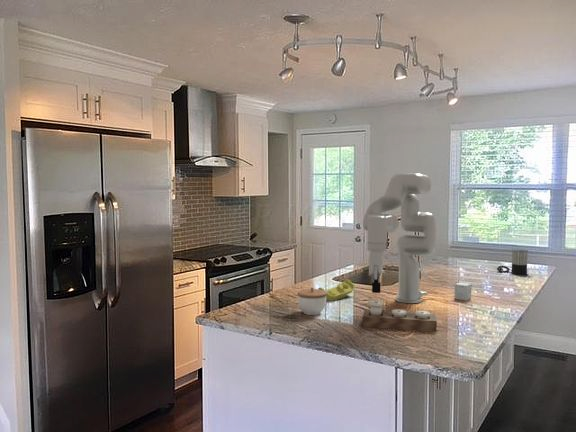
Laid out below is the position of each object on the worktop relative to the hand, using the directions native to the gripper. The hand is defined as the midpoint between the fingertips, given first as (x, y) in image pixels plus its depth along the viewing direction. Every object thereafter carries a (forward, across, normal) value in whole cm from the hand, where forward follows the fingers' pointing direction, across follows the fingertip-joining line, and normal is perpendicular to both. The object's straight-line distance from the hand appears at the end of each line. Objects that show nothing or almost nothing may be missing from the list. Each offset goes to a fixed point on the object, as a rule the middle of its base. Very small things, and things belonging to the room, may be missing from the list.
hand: (376, 292), depth 194 cm
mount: (+13, 0, +9) cm, 16 cm away
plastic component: (+13, -42, -22) cm, 49 cm away
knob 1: (+9, 0, 0) cm, 9 cm away
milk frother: (+12, -130, +76) cm, 152 cm away
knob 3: (+12, 0, +18) cm, 22 cm away
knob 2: (+12, 0, +9) cm, 15 cm away
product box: (+13, -53, +39) cm, 67 cm away
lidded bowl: (+13, -10, -28) cm, 32 cm away
